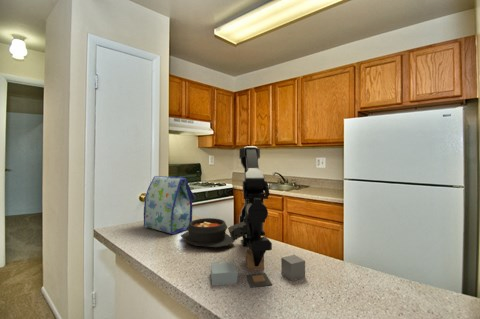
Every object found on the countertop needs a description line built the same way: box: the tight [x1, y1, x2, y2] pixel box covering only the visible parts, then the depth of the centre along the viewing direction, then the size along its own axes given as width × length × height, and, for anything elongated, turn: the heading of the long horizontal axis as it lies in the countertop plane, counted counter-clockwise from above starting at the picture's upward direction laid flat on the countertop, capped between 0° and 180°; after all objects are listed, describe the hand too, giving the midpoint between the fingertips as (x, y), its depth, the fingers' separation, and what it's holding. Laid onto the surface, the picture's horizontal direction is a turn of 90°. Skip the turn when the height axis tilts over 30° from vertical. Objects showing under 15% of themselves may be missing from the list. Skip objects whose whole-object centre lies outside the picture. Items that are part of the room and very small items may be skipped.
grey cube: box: [280, 254, 306, 282], centre depth 74 cm, size 5×5×5 cm
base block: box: [210, 261, 238, 286], centre depth 72 cm, size 7×7×4 cm
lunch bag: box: [143, 175, 196, 235], centre depth 123 cm, size 22×17×26 cm
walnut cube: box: [244, 248, 265, 271], centre depth 80 cm, size 5×5×5 cm
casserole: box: [180, 217, 236, 248], centre depth 103 cm, size 25×19×8 cm
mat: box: [245, 272, 273, 288], centre depth 71 cm, size 7×6×1 cm
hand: (254, 262), depth 80 cm, fingers closed on walnut cube, 5 cm apart
